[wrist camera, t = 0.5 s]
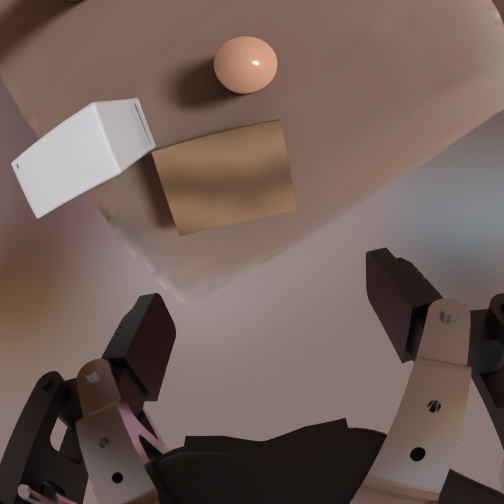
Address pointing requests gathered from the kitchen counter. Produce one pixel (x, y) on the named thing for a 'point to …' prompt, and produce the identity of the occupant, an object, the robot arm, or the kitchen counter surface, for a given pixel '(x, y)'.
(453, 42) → the kitchen counter surface
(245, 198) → the stand
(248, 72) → the peach rounded knob
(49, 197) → the skincare box
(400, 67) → the kitchen counter surface
